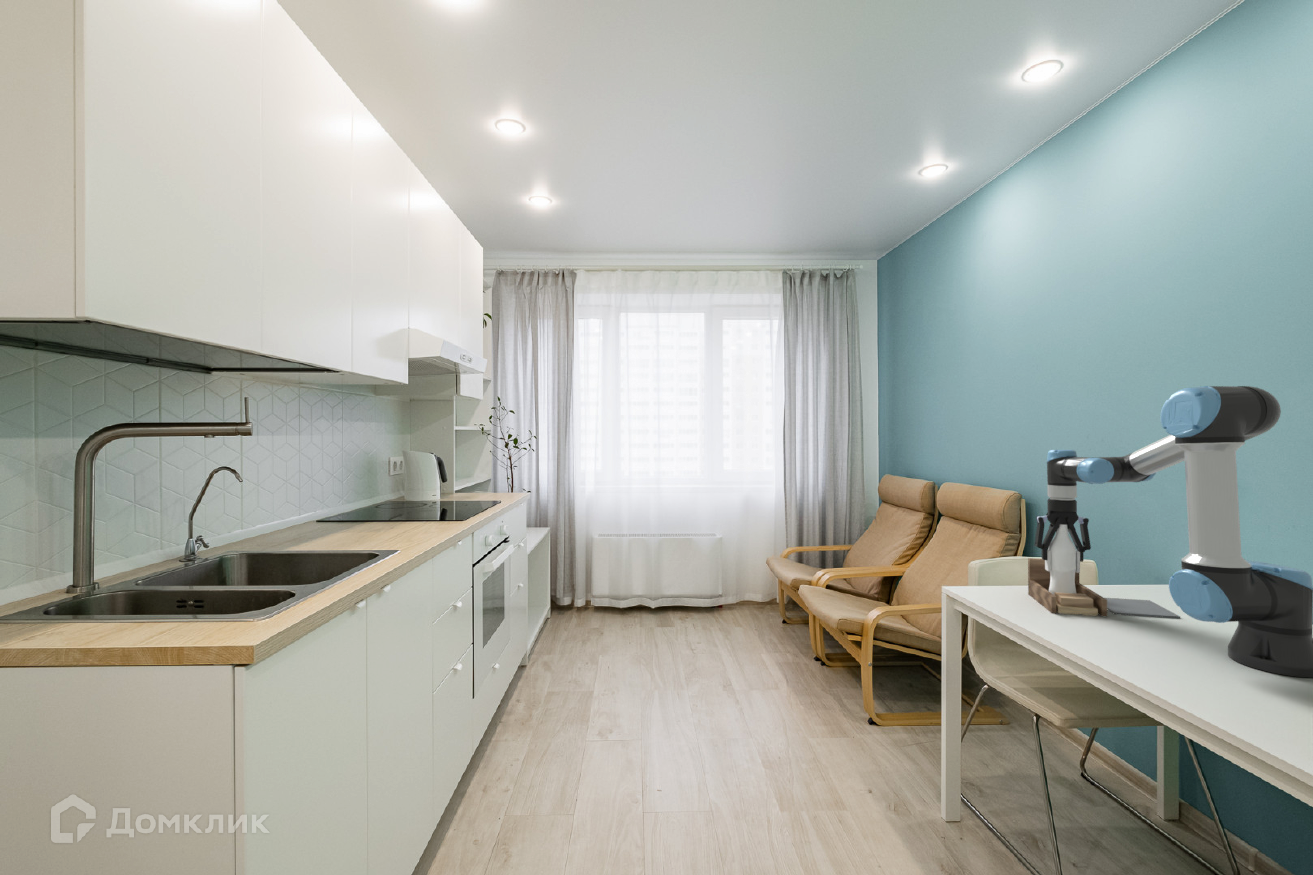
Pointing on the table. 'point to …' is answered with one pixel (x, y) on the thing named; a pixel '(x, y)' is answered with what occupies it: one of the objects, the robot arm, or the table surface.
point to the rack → (1041, 594)
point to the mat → (1138, 608)
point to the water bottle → (1062, 562)
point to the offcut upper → (1073, 600)
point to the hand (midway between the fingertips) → (1062, 570)
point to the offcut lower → (1076, 610)
